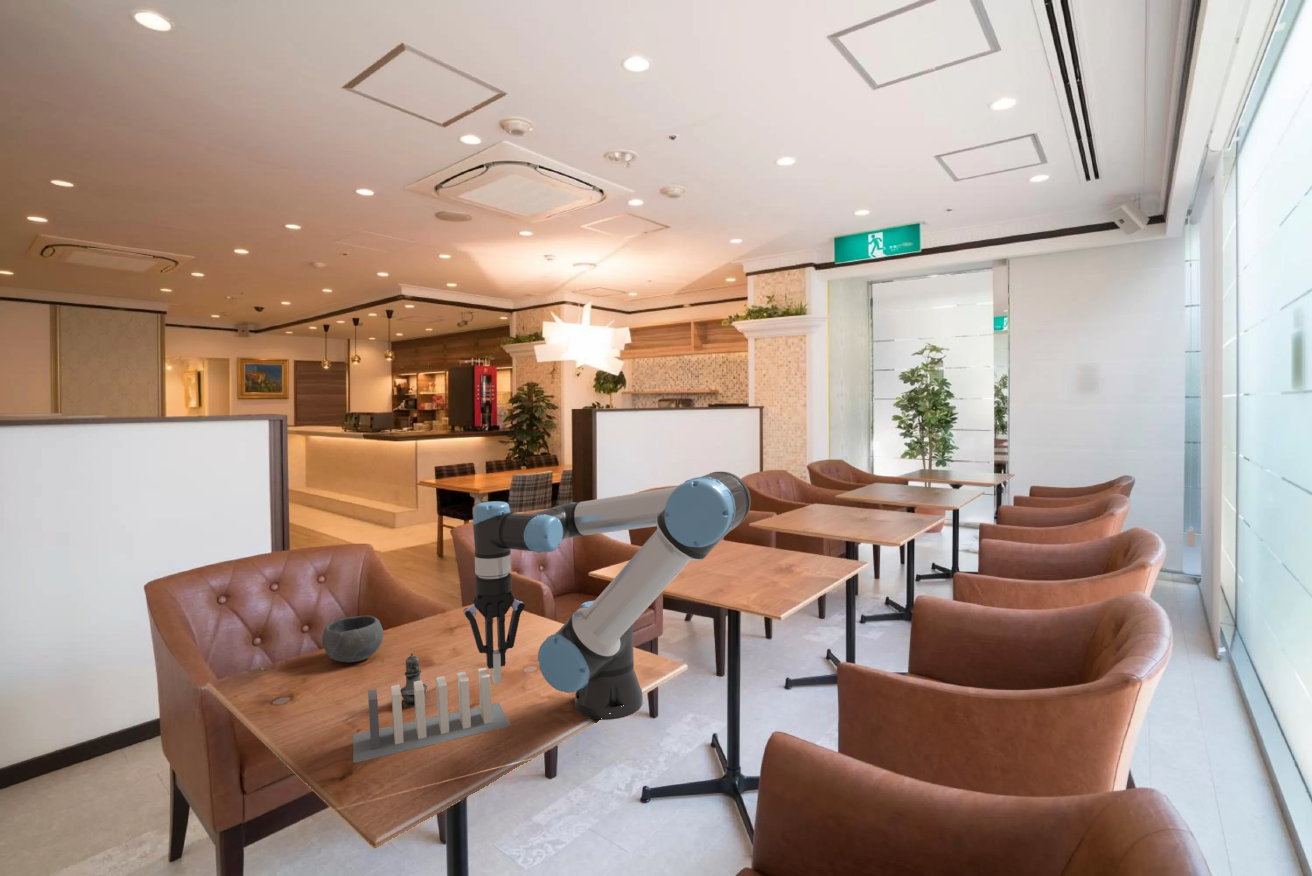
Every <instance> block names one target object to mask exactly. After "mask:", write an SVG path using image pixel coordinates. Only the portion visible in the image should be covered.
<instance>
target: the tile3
mask: <svg viewBox="0 0 1312 876" xmlns="http://www.w3.org/2000/svg"><path fill="white" fill-rule="evenodd" d="M435 678H436V679H435V682H436V683H435V685H436V701H437V704H436V706H437V716H438V724H439V728H440V732H441V734H444V733H448V732H449V716H448V714H449V700H448V699H449V697H448V684H447V681H446V678H445V676H444V675H441V676H437V677H435Z"/></svg>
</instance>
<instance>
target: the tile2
mask: <svg viewBox="0 0 1312 876" xmlns="http://www.w3.org/2000/svg"><path fill="white" fill-rule="evenodd" d="M457 692H458V693H457V694H458V710H459V711H458V712H459V718H460V722H461V724H462V727H463V729H465V728H470V727H471V716H470V709H471V698H470V697H471V696H470V679H469V677H468V675H467V673H466V671H462V672H457Z"/></svg>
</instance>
